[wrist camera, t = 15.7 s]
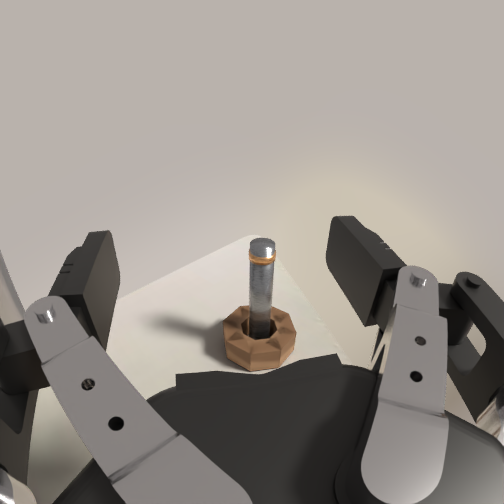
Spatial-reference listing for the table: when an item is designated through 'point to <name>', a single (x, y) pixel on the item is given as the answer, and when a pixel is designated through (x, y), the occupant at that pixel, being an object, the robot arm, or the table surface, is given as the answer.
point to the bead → (258, 351)
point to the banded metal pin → (261, 287)
